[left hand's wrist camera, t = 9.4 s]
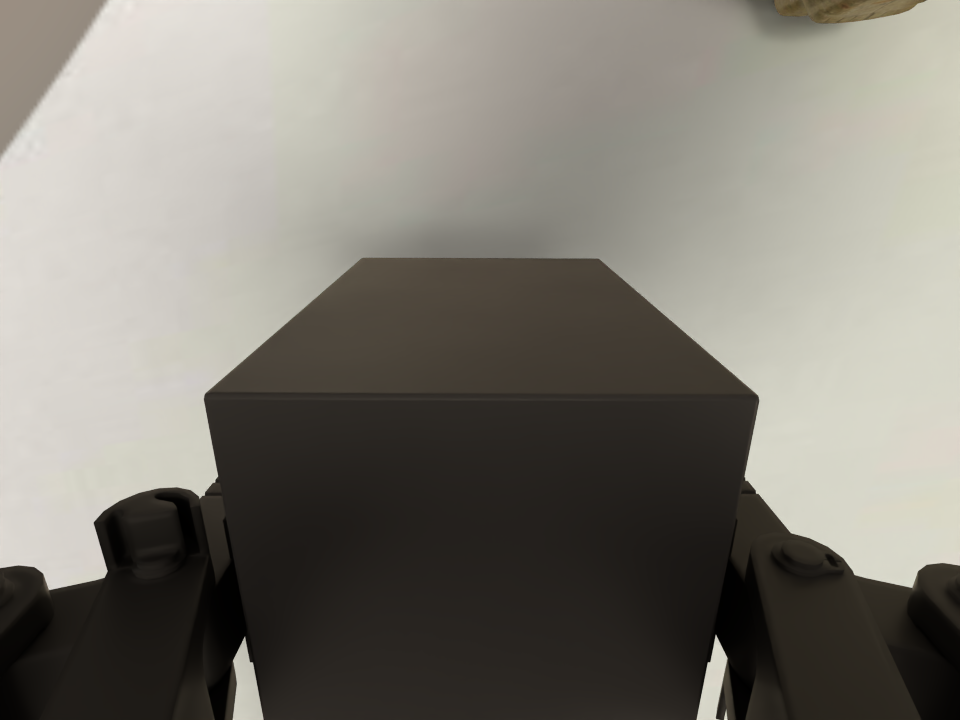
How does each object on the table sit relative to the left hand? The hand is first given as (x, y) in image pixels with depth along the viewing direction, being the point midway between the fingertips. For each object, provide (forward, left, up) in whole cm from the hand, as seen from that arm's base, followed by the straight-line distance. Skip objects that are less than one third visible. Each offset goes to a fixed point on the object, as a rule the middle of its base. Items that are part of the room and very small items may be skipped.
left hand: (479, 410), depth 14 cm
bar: (+7, +7, -1) cm, 10 cm away
